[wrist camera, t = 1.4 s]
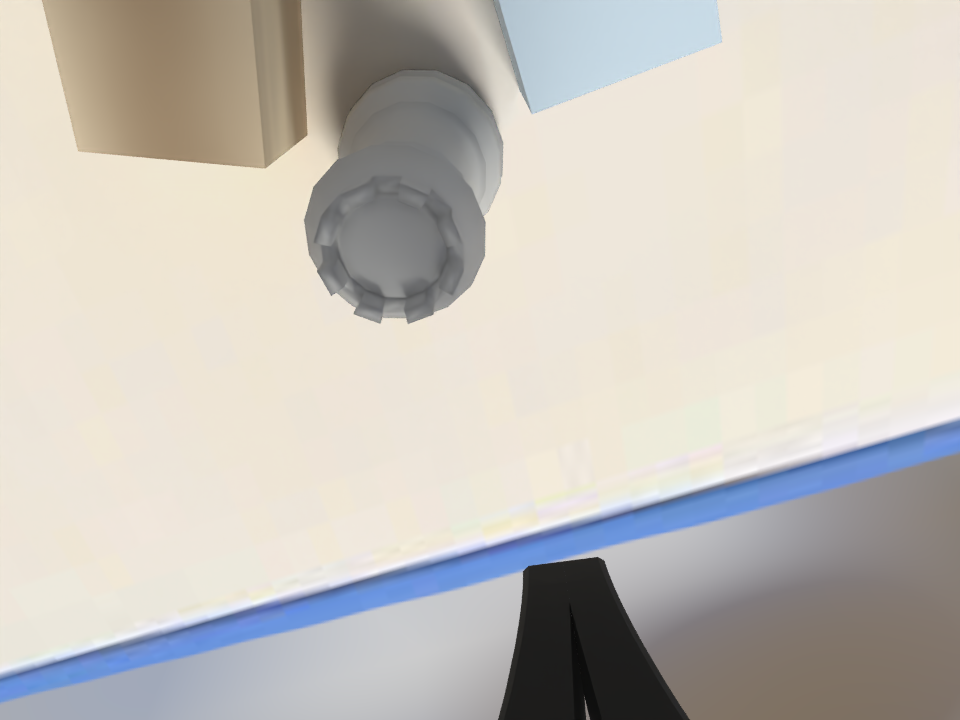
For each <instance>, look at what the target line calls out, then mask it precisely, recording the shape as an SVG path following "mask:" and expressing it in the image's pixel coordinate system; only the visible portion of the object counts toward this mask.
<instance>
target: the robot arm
mask: <svg viewBox="0 0 960 720" xmlns="http://www.w3.org/2000/svg"><path fill="white" fill-rule="evenodd" d="M563 565H564V566H563ZM567 590H568V591H567ZM522 593H523V594H522V604H521V612H520V620H519V626H518V633H517V638H516V644H515V649H514V654H513V659H512V664H511V668H510V673H509V678H508V683H507V687H506V692H505V696H504V700H503V704H502V707H501V711H500V715H499V718H498V720H586V713H585V700H586V704H587V709H588V713H589V717H590V720H690V719H689V718H688V716H687V715H686V713H685V712H684V710H683V709H682V708H681V706H680V704H679V703H678V701H677V700H676V698H675V696H674V695H673V693H672V692H671V690H670V689H669V687H668V685H667V684H666V682H665V680H664V679H663V677H662V675H661V674H660V672H659V670H658V669H657V667H656V665H655V664H654V662H653V660H652V659H651V657H650V655H649V654H648V652H647V650H646V648H645V647H644V645H643V643H642V641H641V639H640V638H639V636H638V634H637V632H636V630H635V628H634V627H633V625H632V623H631V621H630V619H629V617H628V615H627V613H626V611H625V609H624V607H623V605H622V603H621V601H620V599H619V597H618V594H617V592H616V590H615V588H614V586H613V583H612V580H611V578H610V576H609V573H608V570H607V567H606V564H605V561H604V560H602V559H600V558H598V557H594V558H587V559H579V560H571V561H564V562H556V563H548V564H540V565H533V566H528V567H527V568H526V569H525V570H524V571H523V592H522ZM571 615H572V616H571ZM584 696H585V699H584Z"/></svg>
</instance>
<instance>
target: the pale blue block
mask: <svg viewBox="0 0 960 720" xmlns="http://www.w3.org/2000/svg"><path fill="white" fill-rule="evenodd" d="M493 1H494V5H495V8H496V12H497V15H498V18H499V22H500V25H501V28H502V32H503V35H504V38H505V42H506V45H507V49H508V52H509V55H510V59H511V62H512V65H513V69H514V72H515V75H516V79H517V82H518V85H519V89H520V92H521V94H522V96H523V97H524V99H525V101H526V103H527V105H528V107H529V109H530V111H531V113H532V114H534V113H537V112H539V111H542V110H545V109H547V108H550V107H553V106H555V105H558V104H560V103H563V102H566V101H568V100H571V99H574V98H576V97H579V96H582V95H584V94H587V93H589V92H592V91H595V90H597V89H600V88H603V87H605V86H608V85H611V84H613V83H616V82H619V81H621V80H624V79H626V78H629V77H632V76H634V75H637V74H640V73H642V72H645V71H648V70H650V69H653V68H655V67H658V66H661V65H663V64H666V63H669V62H671V61H674V60H677V59H679V58H682V57H685V56H687V55H690V54H692V53H695V52H698V51H700V50H703V49H706V48H708V47H711V46H714V45H716V44H719V43H721V42H722V36H721V29H720V21H719V14H718V6H717V0H493Z"/></svg>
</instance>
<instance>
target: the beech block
mask: <svg viewBox="0 0 960 720" xmlns="http://www.w3.org/2000/svg"><path fill="white" fill-rule="evenodd" d="M42 3H43V7H44V11H45V15H46V19H47V23H48V28H49V32H50V36H51V40H52V44H53V48H54V53H55V57H56V61H57V65H58V69H59V73H60V77H61V82H62V86H63V90H64V94H65V98H66V102H67V107H68V111H69V115H70V119H71V123H72V127H73V132H74V136H75V140H76V144H77V148H78V151H80V152H91V153H102V154H112V155H123V156H134V157H145V158H156V159H167V160H178V161H189V162H200V163H210V164H221V165H232V166H243V167H254V168H266V167H268V166H269V165H270V164H271V163H273V162H274V161H275V160H277V159H278V158H279V157H280V156H282V155H283V154H284V153H285V152H287V151H288V150H289V149H291V148H292V147H293V146H294V145H296V144H297V143H298V142H299V141H301V140H302V139H303V138H304V137H306V136H307V117H306V97H305V77H304V57H303V38H302V18H301V0H42Z"/></svg>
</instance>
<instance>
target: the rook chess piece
mask: <svg viewBox="0 0 960 720" xmlns="http://www.w3.org/2000/svg"><path fill="white" fill-rule="evenodd" d="M338 156H339V159H338V160H337V161H336V162H335V163H334V164H333V165H332V166H331V167H330V169H329V170H328V171H327V172H326V173H325V174H324V175H323V177H322V178H321V179H320V180H319V181H318V182H317V184H316V185H315V186H314V187H313V191H312V194H311V198H310V202H309V205H308V209H307V212H306V216H305V219H304V222H305V229H306V236H307V243H308V250H309V255H310V257H311V259H312V260H313V262H314V264H315V265H316V267H317V269H318V270H317V272H318V274H319V275H320V277H321V279H322V280H323V282H324V284H325V286H326V287H327V289H328V291H329V293H330V294H331V296H332V295H333V294H335V293H337V294H339V295H340V296H341V297H342V298H343V299H345V300H346V301H347V302H348V303H350V304H351V305H352V306H353V307H356V309H355V311H354V314H355V315H358V316H360V317H363V318H366V319H369V320H371V321H374V322H377V323H381V320H382V317H383V318H407V322H408V324H409V323H412V322H414V321H417V320H420V319H423V318H425V317H428V316H431V315H433V314H434V312H436V311H438V310H441V309H444V308H446V307H448V306H449V305H451V304H452V303H453V302H454V301H455V300H456V299H457V298H458V297H459V296H460V295H461V294H463V293H464V292H465V291H466V290H467V289H468V288H469V287H470V286H471V285H472V283H473V281H474V279H475V276H476V274H477V272H478V270H479V268H480V265H481V263H482V261H483V259H484V257H485V219H484V217H483V216H484V215H485V214H486V213H487V212H488V211H489V209H490V207H491V204H492V202H493V200H494V198H495V195H496V193H497V191H498V188H499V186H500V184H501V177H502V168H503V141H502V138H501V135H500V132H499V130H498V127H497V124H496V121H495V119H494V116H493V113H492V111H491V109H490V108H489V107H488V106H487V105H486V104H485V103H484V102H483V101H482V100H481V98H480V97H479V96H478V95H477V94H476V93H475V92H474V91H473V90H472V88H471V87H470V86H469V85H467V84H465V83H463V82H461V81H459V80H457V79H454V78H452V77H450V76H448V75H446V74H444V73H442V72H439V71H437V70H402V71H399V72H397V73H395V74H393V75H391V76H388V77H386V78H384V79H382V80H380V81H377V82H375V83H373V84H372V85H371V86H370V87H369V88H368V90H367V91H366V92H365V93H364V94H363V95H362V97H361V98H360V99H359V100H358V101H357V102H356V104H355V105H354V106H353V107H352V108H351V110H350V113H349V114H348V116H347V118H346V121H345V125H344V128H343V132H342V135H341V138H340V142H339V145H338Z"/></svg>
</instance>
